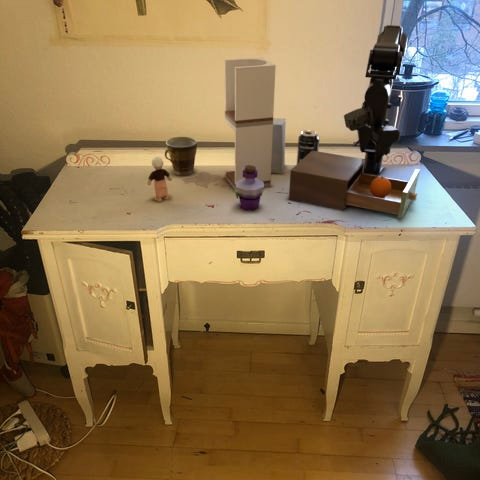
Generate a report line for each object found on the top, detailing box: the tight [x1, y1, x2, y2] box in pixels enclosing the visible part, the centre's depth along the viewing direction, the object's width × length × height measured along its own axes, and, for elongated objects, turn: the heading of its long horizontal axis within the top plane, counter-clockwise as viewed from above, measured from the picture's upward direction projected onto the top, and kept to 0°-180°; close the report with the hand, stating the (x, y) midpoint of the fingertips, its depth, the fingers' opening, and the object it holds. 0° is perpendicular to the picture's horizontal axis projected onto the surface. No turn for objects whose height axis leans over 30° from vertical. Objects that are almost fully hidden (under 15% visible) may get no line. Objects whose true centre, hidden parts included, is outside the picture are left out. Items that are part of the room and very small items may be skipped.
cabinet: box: [288, 150, 365, 211], centre depth 159 cm, size 19×17×9 cm
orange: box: [370, 176, 391, 199], centre depth 153 cm, size 6×6×6 cm
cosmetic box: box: [271, 117, 287, 175], centre depth 172 cm, size 8×7×16 cm
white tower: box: [223, 57, 277, 192], centre depth 157 cm, size 11×11×35 cm
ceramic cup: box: [164, 136, 198, 176], centre depth 171 cm, size 13×10×10 cm
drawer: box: [345, 168, 421, 219], centre depth 153 cm, size 18×18×8 cm
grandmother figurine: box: [146, 156, 173, 202], centre depth 154 cm, size 8×4×13 cm, turn 134°
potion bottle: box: [235, 165, 265, 212], centre depth 150 cm, size 9×9×12 cm
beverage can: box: [296, 129, 320, 165], centre depth 174 cm, size 7×7×12 cm
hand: (369, 156), depth 148 cm, fingers open, 9 cm apart
